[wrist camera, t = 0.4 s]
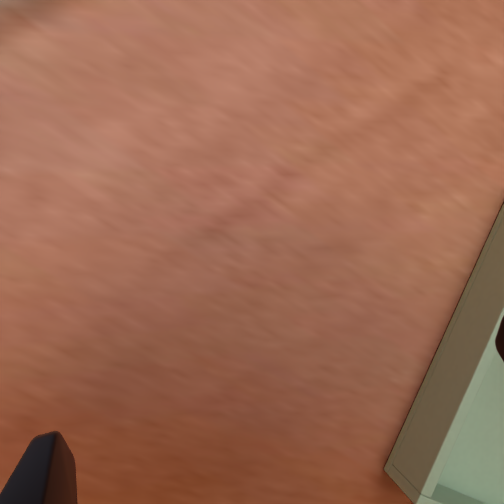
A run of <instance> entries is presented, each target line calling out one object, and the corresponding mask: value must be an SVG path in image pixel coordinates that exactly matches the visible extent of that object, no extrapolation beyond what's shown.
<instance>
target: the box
mask: <svg viewBox="0 0 504 504" xmlns="http://www.w3.org/2000/svg"><path fill="white" fill-rule="evenodd" d="M503 316H504V203H503V206H502V208H501V210H500V212H499V214H498V217H497V219H496V221H495V223H494V225H493V228H492V230H491V232H490V234H489V237H488V239H487V241H486V243H485V245H484V248H483V250H482V252H481V254H480V257H479V259H478V261H477V263H476V265H475V268H474V270H473V272H472V274H471V277H470V279H469V281H468V283H467V285H466V288H465V290H464V292H463V294H462V296H461V299H460V301H459V303H458V305H457V308H456V310H455V312H454V314H453V316H452V319H451V321H450V323H449V325H448V328H447V330H446V332H445V334H444V336H443V339H442V341H441V343H440V345H439V348H438V350H437V352H436V354H435V356H434V359H433V361H432V363H431V365H430V367H429V370H428V372H427V374H426V376H425V379H424V381H423V383H422V385H421V387H420V390H419V392H418V394H417V396H416V399H415V401H414V403H413V405H412V407H411V410H410V412H409V414H408V416H407V419H406V421H405V423H404V425H403V427H402V430H401V432H400V434H399V436H398V438H397V441H396V443H395V445H394V447H393V450H392V452H391V454H390V456H389V458H388V461H387V463H386V465H385V467H384V471H385V472H386V473H387V474H388V475H389V476H390V477H391V478H392V480H393V481H394V482H395V483H396V484H397V485H398V486H399V488H400V489H401V490H402V491H403V492H404V493H405V494H406V495H407V497H408V498H409V499H410V500H411V501H412V502H413V503H414V504H504V362H503V360H502V358H501V357H500V355H499V353H498V351H497V349H496V346H495V338H496V335H497V332H498V329H499V326H500V323H501V320H502V317H503Z"/></svg>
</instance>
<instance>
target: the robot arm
mask: <svg viewBox="0 0 504 504" xmlns="http://www.w3.org/2000/svg"><path fill="white" fill-rule="evenodd" d="M495 346H496V349H497V351H498V353H499V355H500V357H501V358H502V360H503V362H504V316H503V317H502V320H501V323H500V326H499V329H498V332H497V335H496V338H495ZM0 504H77V485H76V467H75V460H74V456H73V454H72V452H71V450H70V449H69V447H68V445H67V443H66V442H65V440H64V438H63V437H62V435H61V434H60V432H58V431H53V432H49V433H45V434H42V435H38V436H36V437H35V438H34V439H33V440H32V441H31V442H30V444H29V446H28V447H27V449H26V451H25V453H24V454H23V456H22V458H21V459H20V461H19V463H18V465H17V466H16V468H15V470H14V471H13V473H12V475H11V476H10V478H9V480H8V482H7V483H6V485H5V487H4V488H3V490H2V492H1V494H0Z"/></svg>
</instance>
